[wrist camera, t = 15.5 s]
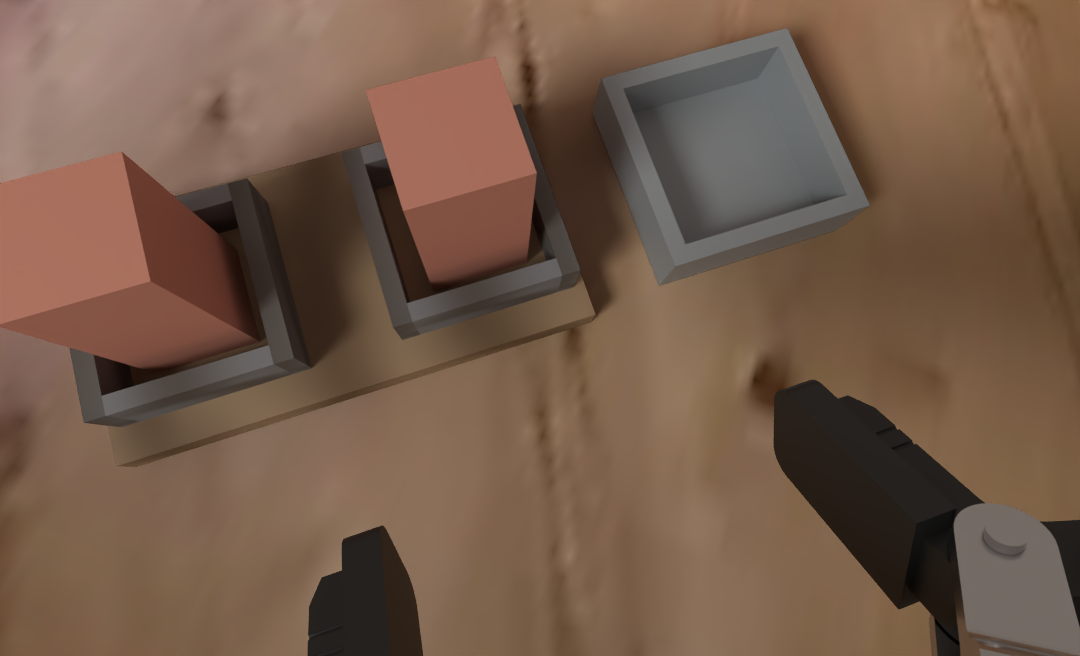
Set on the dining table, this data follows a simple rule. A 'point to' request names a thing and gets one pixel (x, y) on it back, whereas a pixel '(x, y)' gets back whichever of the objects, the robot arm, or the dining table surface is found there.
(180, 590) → the dining table surface
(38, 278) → the block
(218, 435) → the dark grey double holder
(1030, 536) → the robot arm
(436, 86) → the block
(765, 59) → the box
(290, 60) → the dining table surface
